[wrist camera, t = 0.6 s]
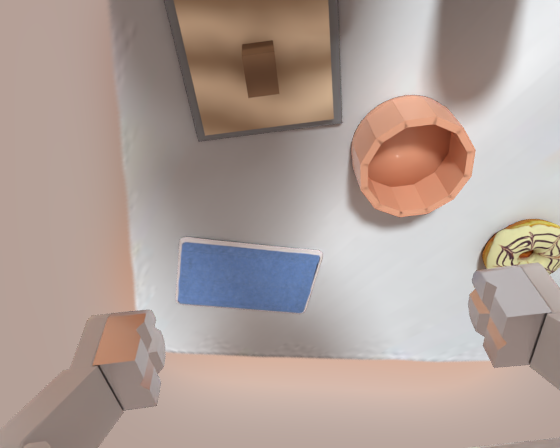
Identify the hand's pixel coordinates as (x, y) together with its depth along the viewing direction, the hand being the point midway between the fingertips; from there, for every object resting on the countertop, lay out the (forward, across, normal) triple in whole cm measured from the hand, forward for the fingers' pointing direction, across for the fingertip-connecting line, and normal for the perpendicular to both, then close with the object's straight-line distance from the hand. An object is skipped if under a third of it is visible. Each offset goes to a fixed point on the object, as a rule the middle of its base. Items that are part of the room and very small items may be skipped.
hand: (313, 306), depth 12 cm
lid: (+39, +2, +6) cm, 40 cm away
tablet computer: (+41, +8, +36) cm, 55 cm away
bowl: (+40, -14, +18) cm, 46 cm away
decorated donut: (+41, -30, +36) cm, 62 cm away
